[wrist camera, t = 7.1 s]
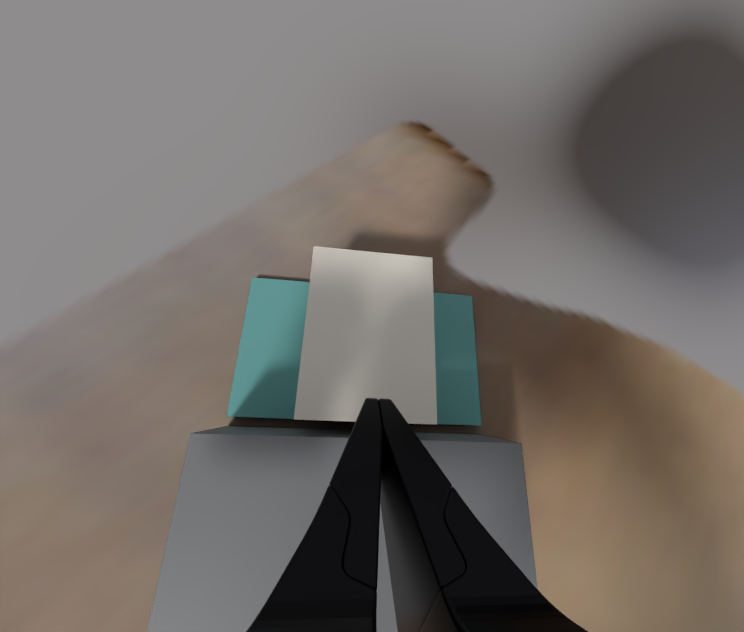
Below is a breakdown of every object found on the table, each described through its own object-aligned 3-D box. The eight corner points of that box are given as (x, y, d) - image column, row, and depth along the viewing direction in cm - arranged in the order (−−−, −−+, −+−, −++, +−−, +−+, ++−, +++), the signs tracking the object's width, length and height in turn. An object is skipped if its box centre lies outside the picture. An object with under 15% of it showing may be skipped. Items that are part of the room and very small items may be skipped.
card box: (437, 424, 12) (432, 257, 14) (293, 419, 11) (313, 246, 14) (413, 419, 16) (412, 288, 18) (304, 415, 15) (318, 280, 18)
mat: (478, 425, 16) (481, 425, 16) (229, 416, 15) (226, 416, 15) (469, 297, 19) (471, 295, 19) (254, 280, 18) (252, 277, 17)
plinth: (488, 571, 14) (542, 631, 11) (200, 576, 13) (143, 647, 9) (478, 434, 16) (521, 443, 13) (227, 425, 15) (190, 433, 11)
